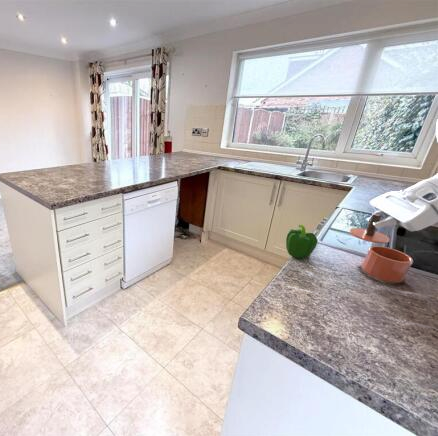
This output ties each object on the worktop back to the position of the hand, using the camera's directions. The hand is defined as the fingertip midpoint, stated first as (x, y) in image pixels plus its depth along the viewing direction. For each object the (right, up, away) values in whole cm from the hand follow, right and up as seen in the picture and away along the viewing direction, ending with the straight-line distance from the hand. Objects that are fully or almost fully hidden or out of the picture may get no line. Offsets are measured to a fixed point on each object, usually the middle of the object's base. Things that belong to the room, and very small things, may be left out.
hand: (371, 224), depth 79 cm
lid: (0, -4, +2) cm, 4 cm away
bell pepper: (-23, -10, +2) cm, 25 cm away
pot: (-3, -15, -7) cm, 16 cm away
